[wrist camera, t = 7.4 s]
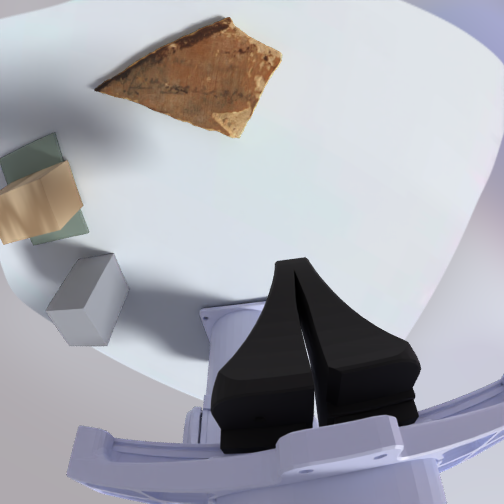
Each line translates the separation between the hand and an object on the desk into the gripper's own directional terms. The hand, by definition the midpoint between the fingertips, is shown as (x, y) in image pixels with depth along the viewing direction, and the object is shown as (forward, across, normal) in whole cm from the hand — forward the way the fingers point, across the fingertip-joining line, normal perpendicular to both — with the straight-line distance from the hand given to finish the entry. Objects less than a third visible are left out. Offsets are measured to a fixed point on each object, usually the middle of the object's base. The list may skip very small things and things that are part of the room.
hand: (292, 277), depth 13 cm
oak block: (+8, +15, -4) cm, 17 cm away
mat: (+10, +19, -4) cm, 22 cm away
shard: (+11, +4, -8) cm, 14 cm away
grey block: (+10, +16, +6) cm, 20 cm away
